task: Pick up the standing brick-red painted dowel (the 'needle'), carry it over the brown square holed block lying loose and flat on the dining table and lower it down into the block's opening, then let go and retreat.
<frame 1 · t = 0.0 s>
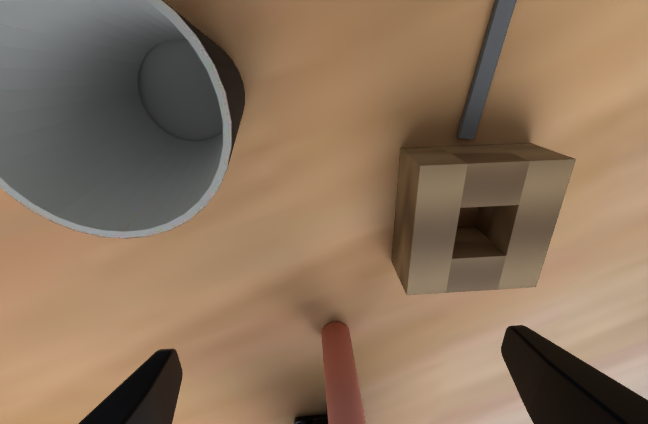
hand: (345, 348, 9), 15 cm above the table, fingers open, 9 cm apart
needle dowel: (335, 332, 28), on the table
brown square holed block: (456, 206, 24), on the table
coffee mug: (165, 90, 19), on the table
blue gray square bar: (490, 45, 19), on the table
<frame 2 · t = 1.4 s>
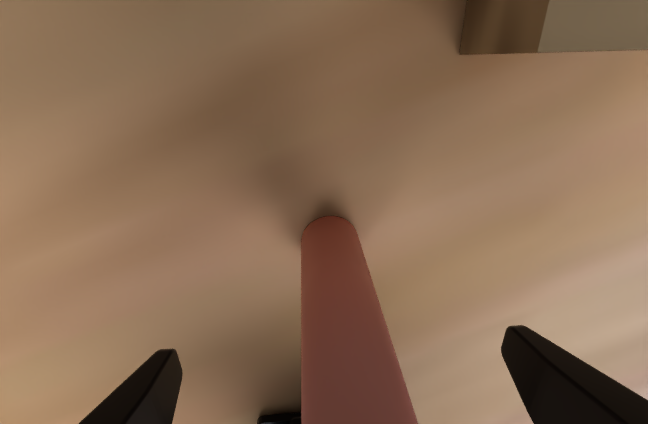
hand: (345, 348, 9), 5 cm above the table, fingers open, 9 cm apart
needle dowel: (329, 241, 14), on the table
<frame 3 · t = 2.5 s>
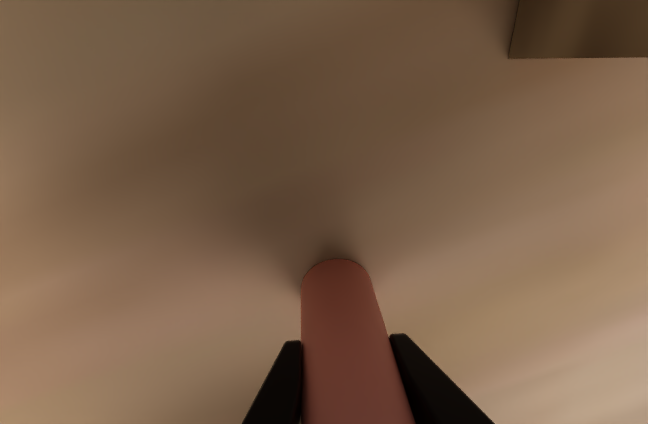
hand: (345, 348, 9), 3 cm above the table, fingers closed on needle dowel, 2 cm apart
needle dowel: (336, 288, 11), on the table, touching gripper
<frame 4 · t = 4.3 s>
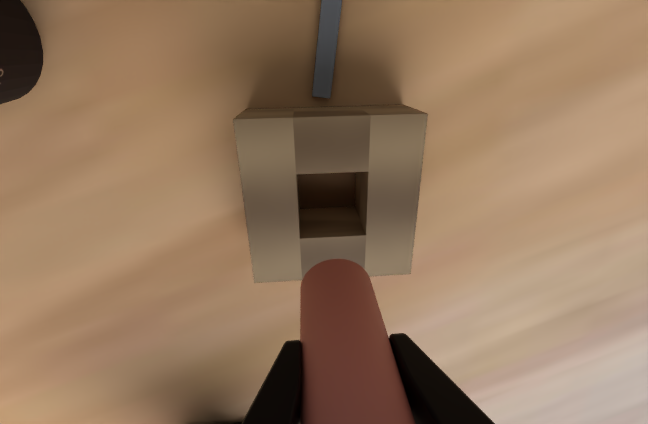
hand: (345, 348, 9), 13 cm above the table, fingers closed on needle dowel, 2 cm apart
needle dowel: (335, 288, 11), point 10 cm above the table, touching gripper
brown square holed block: (326, 181, 20), on the table
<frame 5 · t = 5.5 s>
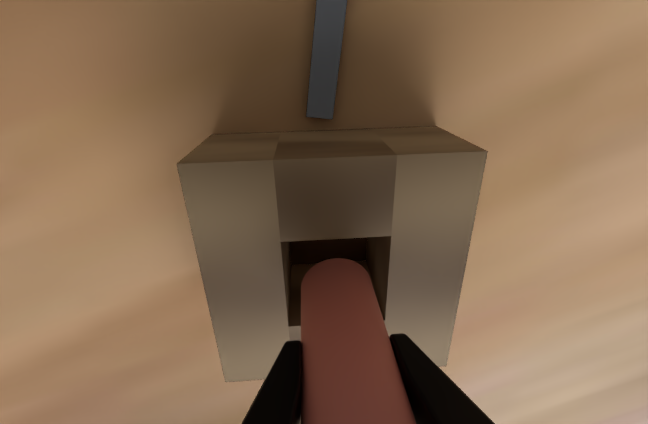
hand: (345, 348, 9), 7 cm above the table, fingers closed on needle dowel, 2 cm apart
needle dowel: (336, 288, 11), point 4 cm above the table, touching gripper
brown square holed block: (328, 229, 15), on the table
when the fingers open (5 cm above the table, at t = 6.1 s): needle dowel drops 2 cm, resting in brown square holed block.
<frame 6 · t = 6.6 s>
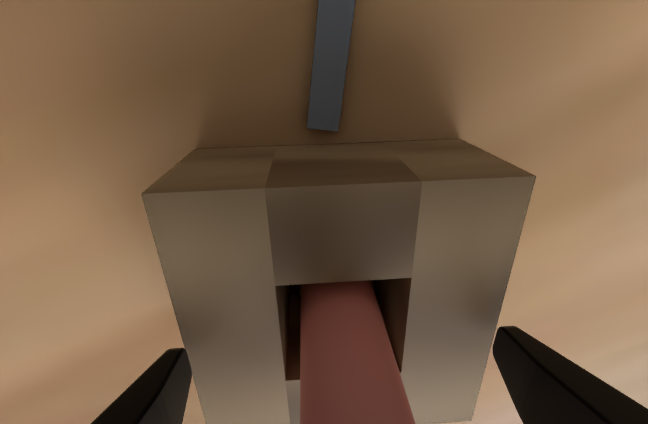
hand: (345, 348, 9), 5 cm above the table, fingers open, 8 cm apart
needle dowel: (331, 255, 13), resting in brown square holed block
brown square holed block: (332, 256, 13), on the table
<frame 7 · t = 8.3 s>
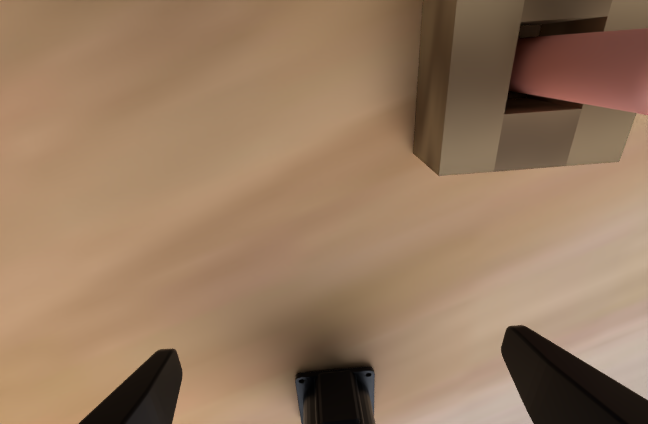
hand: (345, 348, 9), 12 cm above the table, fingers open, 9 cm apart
needle dowel: (500, 64, 17), resting in brown square holed block
brown square holed block: (501, 65, 17), on the table
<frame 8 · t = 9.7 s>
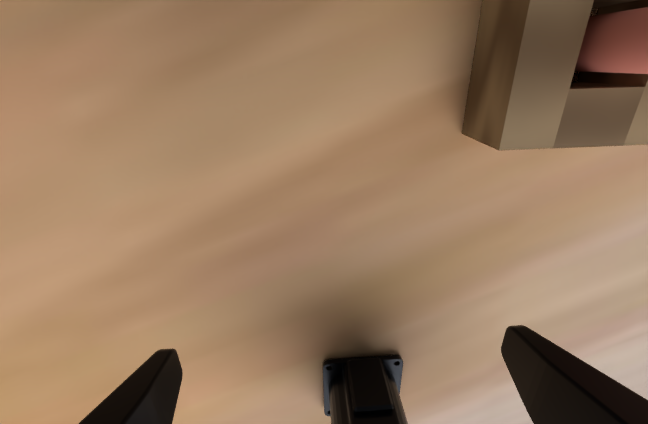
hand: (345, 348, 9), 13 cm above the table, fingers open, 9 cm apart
needle dowel: (555, 46, 18), resting in brown square holed block
brown square holed block: (555, 47, 18), on the table
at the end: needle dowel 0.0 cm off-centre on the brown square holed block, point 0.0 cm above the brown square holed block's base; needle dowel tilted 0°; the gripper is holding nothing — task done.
